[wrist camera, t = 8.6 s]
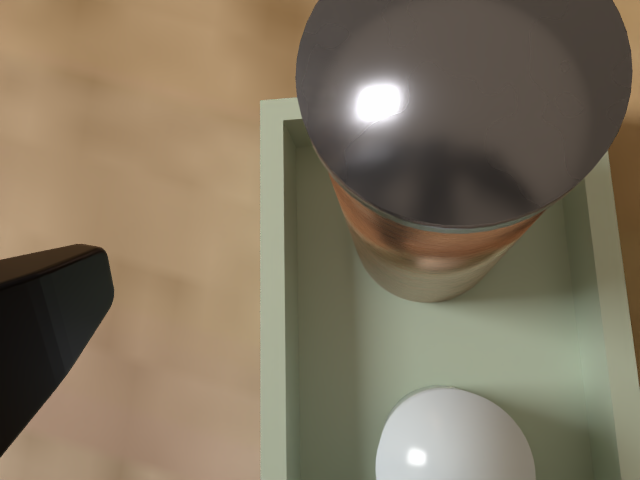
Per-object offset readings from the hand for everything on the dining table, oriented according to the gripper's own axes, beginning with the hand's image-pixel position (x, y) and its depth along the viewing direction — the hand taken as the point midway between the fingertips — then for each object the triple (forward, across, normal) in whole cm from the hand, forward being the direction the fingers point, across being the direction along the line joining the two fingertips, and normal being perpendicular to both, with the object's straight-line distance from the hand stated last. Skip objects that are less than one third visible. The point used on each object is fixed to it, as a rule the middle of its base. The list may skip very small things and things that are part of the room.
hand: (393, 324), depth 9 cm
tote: (+10, +1, -9) cm, 13 cm away
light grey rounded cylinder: (+7, +2, -11) cm, 13 cm away
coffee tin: (+12, 0, -6) cm, 13 cm away
